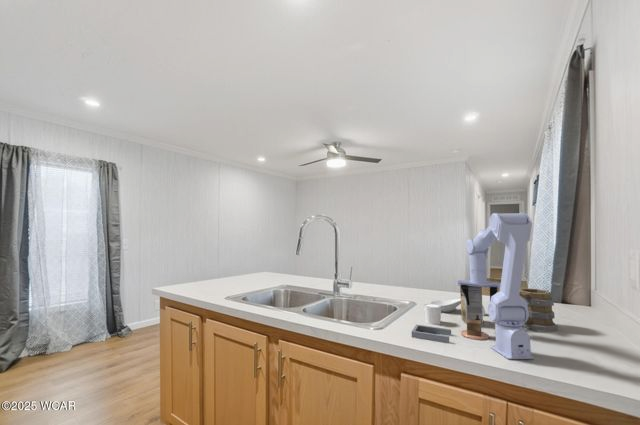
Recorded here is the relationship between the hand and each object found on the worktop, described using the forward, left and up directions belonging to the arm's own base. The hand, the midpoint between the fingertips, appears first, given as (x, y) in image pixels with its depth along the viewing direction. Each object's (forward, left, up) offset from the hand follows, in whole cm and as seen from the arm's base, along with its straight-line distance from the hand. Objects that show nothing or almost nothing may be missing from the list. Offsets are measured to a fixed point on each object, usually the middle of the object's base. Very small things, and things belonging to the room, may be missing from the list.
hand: (479, 305), depth 113 cm
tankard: (+4, -22, -10) cm, 24 cm away
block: (-5, +5, -9) cm, 11 cm away
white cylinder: (+11, +14, -10) cm, 20 cm away
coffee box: (+10, -2, -10) cm, 14 cm away
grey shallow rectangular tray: (-5, +20, -9) cm, 23 cm away
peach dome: (-5, +5, -9) cm, 12 cm away
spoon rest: (+27, -4, -10) cm, 29 cm away
